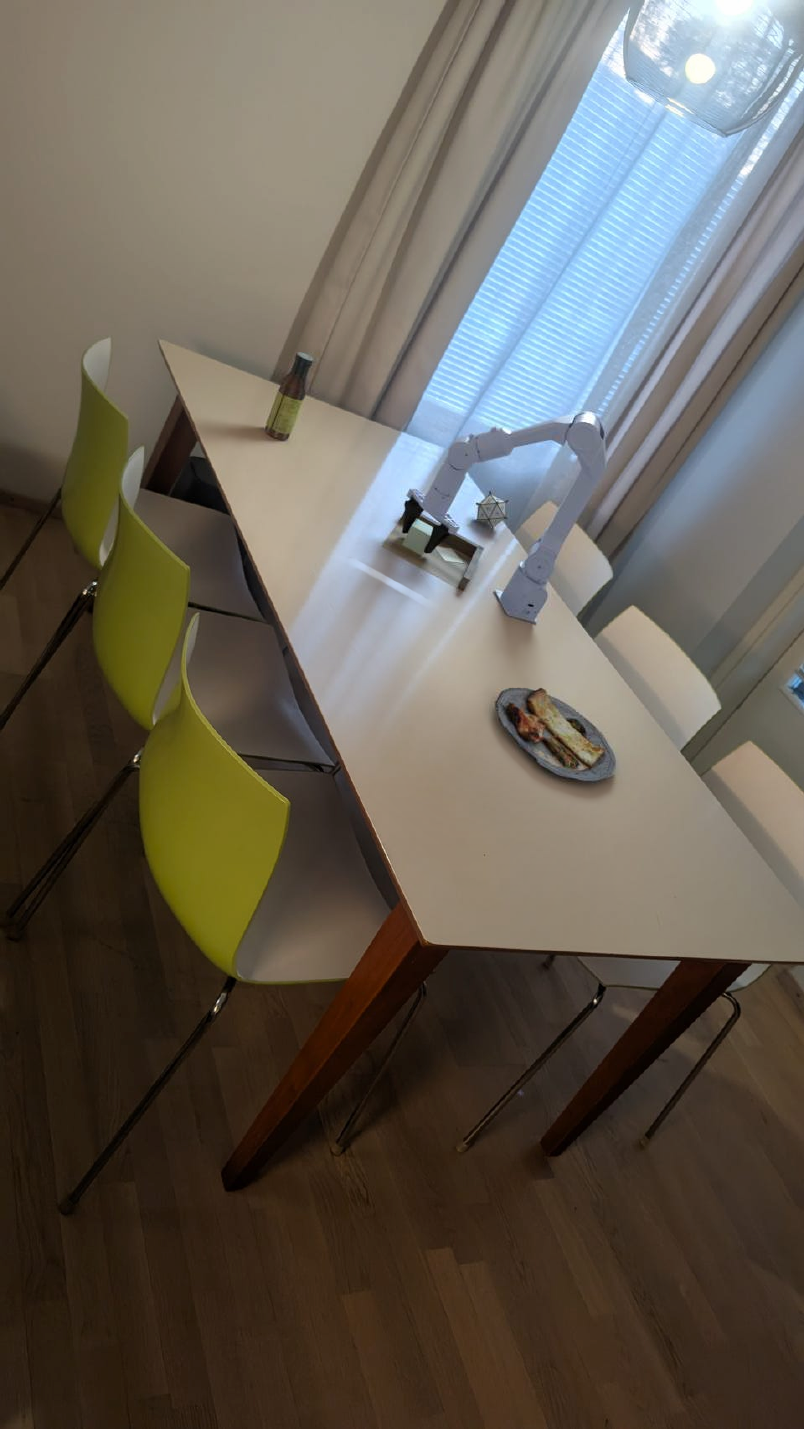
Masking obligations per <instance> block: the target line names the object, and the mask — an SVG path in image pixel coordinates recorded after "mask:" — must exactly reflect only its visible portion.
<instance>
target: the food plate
mask: <svg viewBox="0 0 804 1429" xmlns="http://www.w3.org/2000/svg"><path fill="white" fill-rule="evenodd" d="M494 703H495V705H494V706H495V709H494V711H496V714H497V715H498V716H499V717H498V722H499V723H501V724H502V725H503V728H505V730H507V731H508V732H509V733H510V735H511V736H512V737H513V738H514V739H515V740H516V742H517V743H518V746H519V747H520V748H521V749H523V750H525V751H526V752H527V753H529V755H530V756H533V757H534V759H536V762H537V763H538V764H539V765H540V766H542V767H543V768H546V769H547V770H549V771H551V772H552V773H553V774H555V775H558V776H561V777H565V778H567V779H570V778H571V779H576V780H579V781H583V782H587V781H588V782H597V781H602V780H606V779H608V778H610V777H612V776H614V774H615V772H616V768H617V759H616V755H615V752H614V750H613V749H612V748H611V746H610V744H609V743H608V740H607V738H606V737H605V735H604V734H603V733H602V732H601V731H600V730H599V729H598V728H597V727H596V726H595V725H594V724H593V723H592V722H591V721H590V720H588V719H587V718H586V717H585V716H583V714H581V713H580V712H579V711H577V710H576V708H574V707H572V706H571V705H569V704H567V702H564V701H562V700H560V698H556V697H554V696H552V695H550V694H548V692H547V690H546V689H545V688H543V687H539V688H538V689H536V690H533V689H531V688H528V687H508V688H506V689H504V690H502V691H501V692H500V693H499V694H498V697H497V699H496V700H495V702H494ZM539 752H540V753H543V755H544V756H541V754H539ZM548 756H550V757H552V758H555V759H554V760H555V761H556V760H558V762H559V763H561V766H563V767H561V766H557V765H556V764H553V763H551V762H550V761H549V760H548V758H549V759H550V757H548ZM544 757H545V758H546V759H545V758H544ZM543 758H544V759H543ZM580 763H582V765H585V766H586V768H583V769H580V770H576V771H575V769H576V768H578V766H579V767H580V766H582V765H581V764H580ZM565 768H569V769H571V770H569V769H565ZM572 769H574V770H572Z"/></svg>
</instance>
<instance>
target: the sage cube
mask: <svg viewBox="0 0 804 1429" xmlns="http://www.w3.org/2000/svg"><path fill="white" fill-rule="evenodd" d="M432 530H433V527H431V526H430V525H428V524H426V523H424V522H422V521H421V520H419V519H417V518H416V520H415V521H414V523H413V524H412V526H411V528H410V530H409V532H408V534H407V536H406V538H405V540H404V542H403V544H402V545H403V546H405V547H407V548H409V549H411V550H413V551H414V552H416V553H418V554H420V555H423V553H424V549H425V547H426V545H427V543H428V541H429V539H430V537H431V534H432Z"/></svg>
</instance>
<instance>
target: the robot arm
mask: <svg viewBox="0 0 804 1429" xmlns="http://www.w3.org/2000/svg"><path fill="white" fill-rule="evenodd" d="M546 441H553V442H555V443H557V444H559V445H561V446H563V447H564V446H565V444H566V443H567V445H568V447H569V448H570V449H571V451H572V452H573V453H574V455H576V456H577V459H578V462H579V464H580V465H579V466H581V467H580V470H578V473H577V475H576V476H575V478H574V480H573V482H572V484H570V487H569V489H568V490H567V492H566V494H565V496H564V498H563V500H562V501H561V503H560V504H559V507H558V508H557V510H556V511H555V513H554V515H553V517H552V518H551V520H550V523H549V524H548V526H547V527H546V529H545V530H544V531H543V532H542V535H541V536H540V537H539V538H538V539H537V540H535V541H534V542H533V543H532V544H531V545H530V546H529V550H528V555H527V558H526V559H525V560H523V561H522V560H521V562H520V563H519V565H517V568H516V569H515V571H514V573H513V574H512V576H511V578H510V579H509V580H508V583H507V584H506V585H505V588H504V589H503V591H502V590H498V589H494V594H495V596H496V597H497V599H498V601H499V603H500V604H501V606H502V608H503V610H504V612H505V614H506V615H507V616H509V617H513V618H516V619H520V620H524V621H528V622H531V623H535V624H536V623H538V620H537V617H538V615H539V613H540V612H541V610H542V609H543V607H544V606H545V605H546V604H545V603H547V600H548V597H549V594H548V591H547V584H548V582H549V580H550V577H551V576H552V575H553V574H554V571H555V564H556V561H557V559H558V557H559V556H558V555H559V554H560V551H561V549H562V547H563V546H564V543H565V542H566V539H567V538H568V536H569V534H570V532H571V531H572V529H573V528H574V525H575V524H576V523H577V521H578V519H579V517H580V515H581V514H582V512H583V510H584V509H585V508H586V505H587V503H588V502H589V500H590V498H591V496H592V495H593V493H594V491H595V490H596V489H597V487H598V485H599V483H600V482H601V479H602V478H603V476H604V475H605V472H606V470H607V462H608V461H607V450H606V448H607V447H606V431H605V429H604V426H603V424H602V422H601V420H600V418H599V416H598V415H597V414H595V413H594V412H591V411H582V412H579V413H577V414H576V415H575V413H570V414H567V415H566V414H565V415H562V416H559V417H555V418H552V419H549V420H545V421H542V422H539V423H536V424H532V425H530V426H529V425H528V426H526V427H523V428H518V429H516V430H512V431H510V430H509V429H506V428H505V427H501V428H499V427H498V426H496V425H495V426H492V427H490V430H489V431H486V432H481V433H477V434H475V433H474V432H473V433H469V434H468V436H466V435H465V436H460V437H458V438H457V439H455V440H454V441H453V442H452V444H451V445H450V448H449V449H448V452H447V456H446V457H445V458H444V461H443V463H442V464H441V465H440V468H439V470H438V471H437V473H436V475H435V477H434V479H433V480H432V482H431V485H430V487H429V488H428V491H427V492H426V494H424V493H422V492H421V491H419V490H418V489H417V488H415V487H414V488H413V487H412V488H409V490H408V492H407V493H406V497H407V498H408V500H405V502H404V503H403V504H404V505H403V506H404V511H405V518H404V524H403V529H402V533H403V534H406V533H408V532H409V530H410V528H411V526H412V524H413V523H414V521H415V520H416V518H417V519H418V518H419V516H420V515H421V514H423V512H424V511H425V512H426V513H427V514H429V515H430V516H431V517H433V518H432V519H434V520H435V521H436V522H438V523H439V524H440V525H434V526H433V530H432V534H431V537H430V539H429V541H428V543H427V545H426V547H425V549H424V552H425V553H426V554H428V553H432V551H433V550H434V549H435V548H436V547H437V546H438V545H439V544H440V543H441V542H442V541H443V540H445V539H446V538H448V537H449V536H451V535H452V534H456V533H458V531H459V530H460V525H459V524H458V523H457V522H456V521H455V519H454V518H453V517H452V516H451V515H450V513H449V509H450V508H451V506H452V504H453V502H454V500H455V498H456V496H457V495H458V492H459V491H460V489H461V487H462V485H463V484H464V481H465V480H466V475H467V473H468V471H469V469H471V468H472V467H473V466H474V464H475V463H479V464H480V463H485V462H488V461H492V460H496V459H500V458H504V457H509V456H510V455H511V454H512V452H513V451H514V449H515V448H518V447H523V446H528V445H532V444H534V445H535V444H537V443H543V442H546Z"/></svg>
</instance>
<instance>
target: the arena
mask: <svg viewBox="0 0 804 1429" xmlns="http://www.w3.org/2000/svg"><path fill="white" fill-rule="evenodd" d="M404 518H405V510H404V511H403V514H402V515H401V517H400V519H399V520H398V521H397V523H396V524H395V526H394V528H393V529H392V530H391V532H390V533H389V535H387V537H386V539H385V540H384V541H383V543H382V545H381V548H383V549H386V550H387V551H389V552H391V553H393V554H395V555H396V556H398V557H400V558H402V559H403V560H405V561H407V562H409V563H410V564H413V565H414V566H416V567H418V568H420V569H422V570H423V571H425V572H427V573H428V574H430V575H433V576H435V577H436V578H437V579H438V578H439V579H440V580H441V581H443V582H445V583H448V584H449V585H451V586H453V587H454V588H456V589H458V590H460V591H462V592H464V591H465V590H466V589H467V588H466V587H467V586H468V584H469V582H470V580H471V578H472V577H473V574H474V572H475V570H476V567H477V565H478V564H479V561H480V558H481V557H482V554H483V552H484V550H485V547H483V546H481V545H479V544H477V543H476V542H474V541H472V540H471V539H468V538H466V537H464V535H461V534H459V533H458V532H457V533H456V534H452V535H451V536H449V537H448V538H446V539H445V540H443V541H442V542H441V543H440V544H439V545H438V546H437V547H436V548H435V549H434V550H433V551H432V553H428V554H426V553H425V552H424V553H423V555H420V554H418V553H416V552H414V551H413V550H411V549H409V548H407V547H405V546H403V545H402V544H403V542H404V540H405V538H406V536H407V534H408V533H406V534H403V533H402V529H403V524H404ZM418 519H419V520H421V521H422V522H424V523H426V524H428V525H430V526H431V527H433V526H434V525H440V523H439V522H438V521H437V520H435V519H434V520H433V518H431V517H428V516H427V515H425V514H423V513H421V515H420V516H419V518H418Z"/></svg>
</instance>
